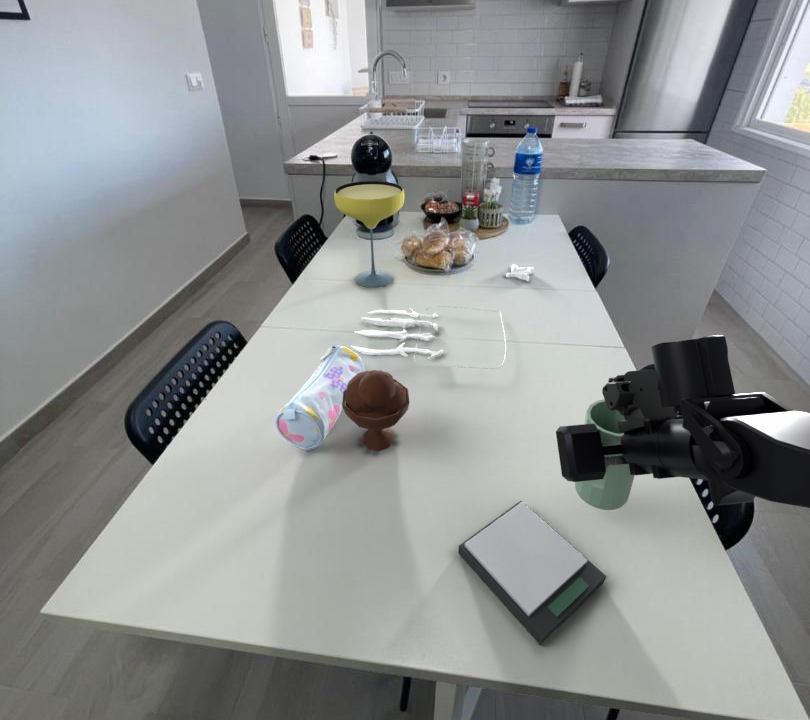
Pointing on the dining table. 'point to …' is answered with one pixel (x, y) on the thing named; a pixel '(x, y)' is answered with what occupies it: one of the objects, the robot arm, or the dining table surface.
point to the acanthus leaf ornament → (520, 272)
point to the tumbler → (617, 477)
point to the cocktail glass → (370, 215)
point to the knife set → (404, 334)
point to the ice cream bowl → (375, 406)
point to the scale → (531, 569)
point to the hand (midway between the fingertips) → (603, 445)
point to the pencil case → (319, 399)
